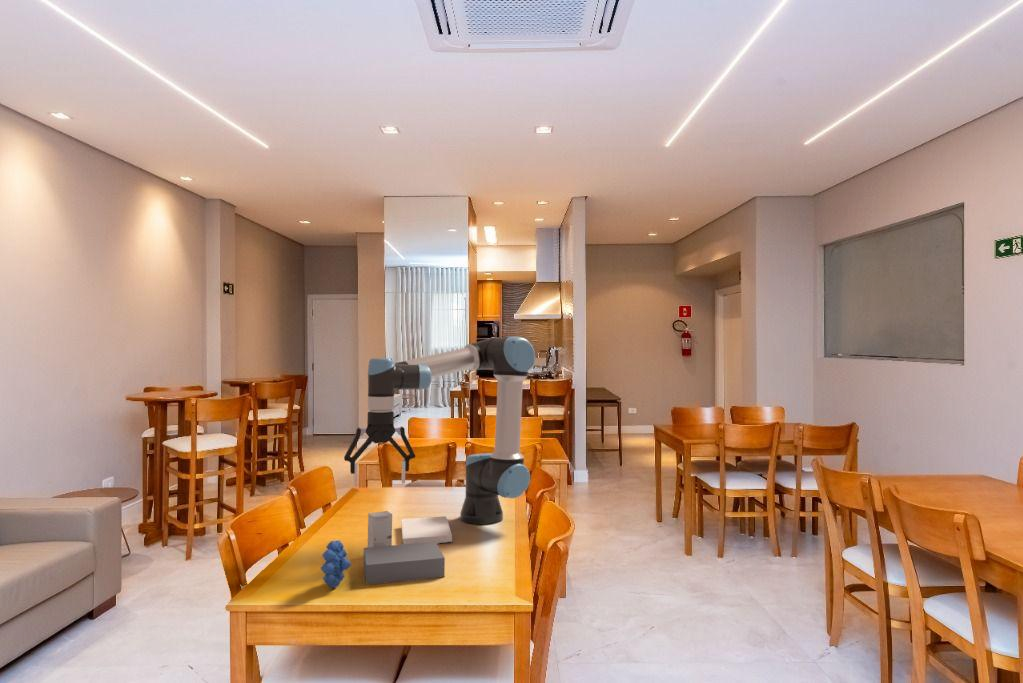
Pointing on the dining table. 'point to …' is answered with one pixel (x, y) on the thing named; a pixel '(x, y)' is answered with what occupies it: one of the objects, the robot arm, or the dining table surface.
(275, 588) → the dining table surface
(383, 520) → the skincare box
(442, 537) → the food packaging
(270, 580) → the dining table surface
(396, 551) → the block
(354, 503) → the dining table surface
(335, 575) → the grapes
